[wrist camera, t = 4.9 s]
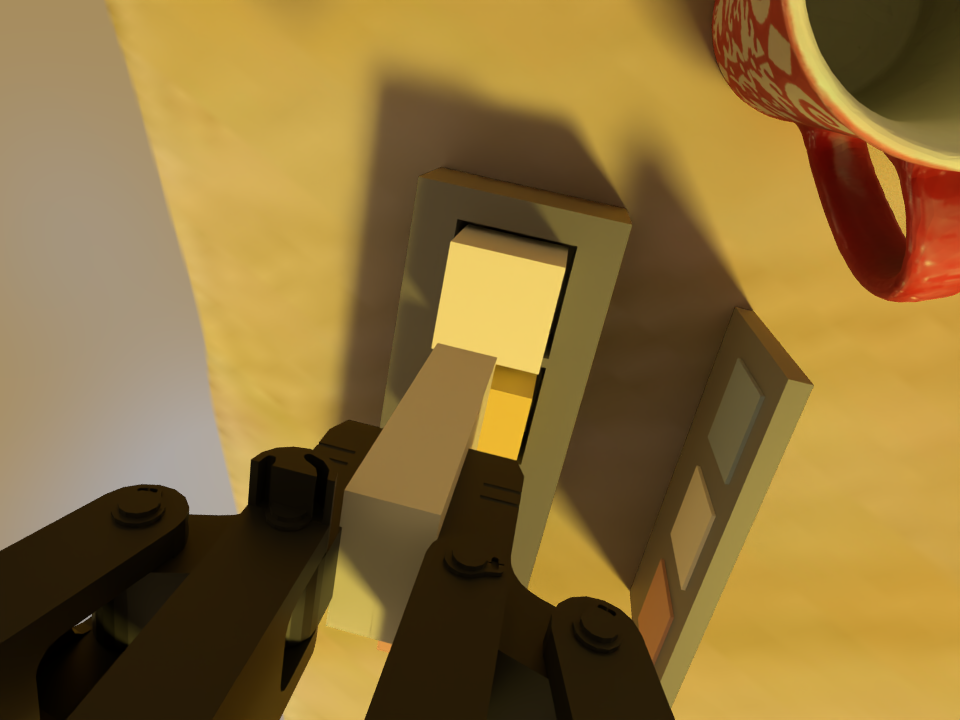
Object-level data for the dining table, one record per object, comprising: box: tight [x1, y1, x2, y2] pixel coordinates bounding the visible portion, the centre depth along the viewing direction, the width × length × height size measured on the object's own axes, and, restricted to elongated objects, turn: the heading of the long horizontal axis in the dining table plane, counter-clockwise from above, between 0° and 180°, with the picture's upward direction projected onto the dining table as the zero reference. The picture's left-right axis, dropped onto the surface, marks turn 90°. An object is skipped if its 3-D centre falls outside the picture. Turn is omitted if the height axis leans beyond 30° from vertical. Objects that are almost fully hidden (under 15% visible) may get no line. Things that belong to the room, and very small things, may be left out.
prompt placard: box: [630, 307, 814, 708], centre depth 27 cm, size 16×1×8 cm, turn 169°
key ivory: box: [431, 224, 569, 375], centre depth 24 cm, size 4×4×4 cm
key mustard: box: [477, 364, 537, 460], centre depth 26 cm, size 4×4×4 cm
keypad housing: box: [380, 167, 632, 588], centre depth 30 cm, size 22×8×4 cm, turn 169°
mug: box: [712, 0, 960, 302], centre depth 18 cm, size 13×9×14 cm
